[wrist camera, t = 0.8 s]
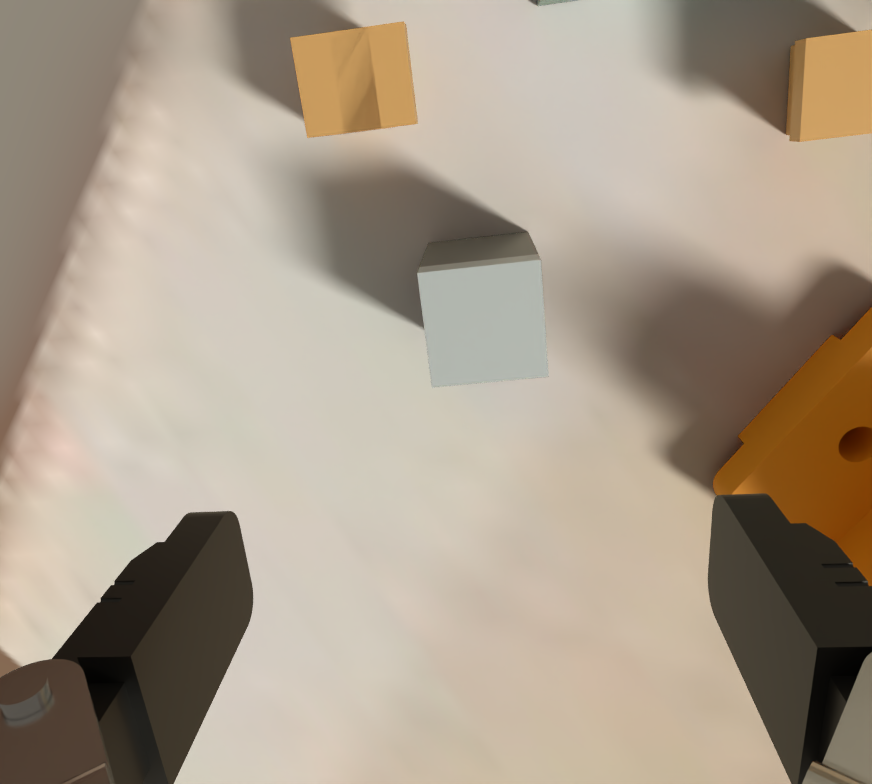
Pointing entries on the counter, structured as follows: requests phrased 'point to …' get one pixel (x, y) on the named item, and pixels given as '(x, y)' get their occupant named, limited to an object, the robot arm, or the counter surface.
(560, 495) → the counter surface
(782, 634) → the robot arm
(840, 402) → the bracket
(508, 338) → the block
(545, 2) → the tray
